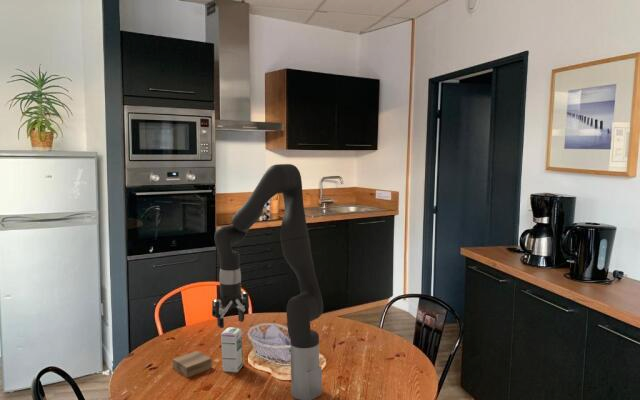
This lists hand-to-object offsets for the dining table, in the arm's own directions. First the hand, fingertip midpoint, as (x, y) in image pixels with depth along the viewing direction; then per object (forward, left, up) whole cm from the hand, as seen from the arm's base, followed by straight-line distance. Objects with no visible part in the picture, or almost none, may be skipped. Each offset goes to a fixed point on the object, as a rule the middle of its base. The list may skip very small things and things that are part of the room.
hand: (231, 324), depth 171 cm
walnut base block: (+11, +10, -17) cm, 23 cm away
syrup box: (0, 0, -17) cm, 17 cm away
